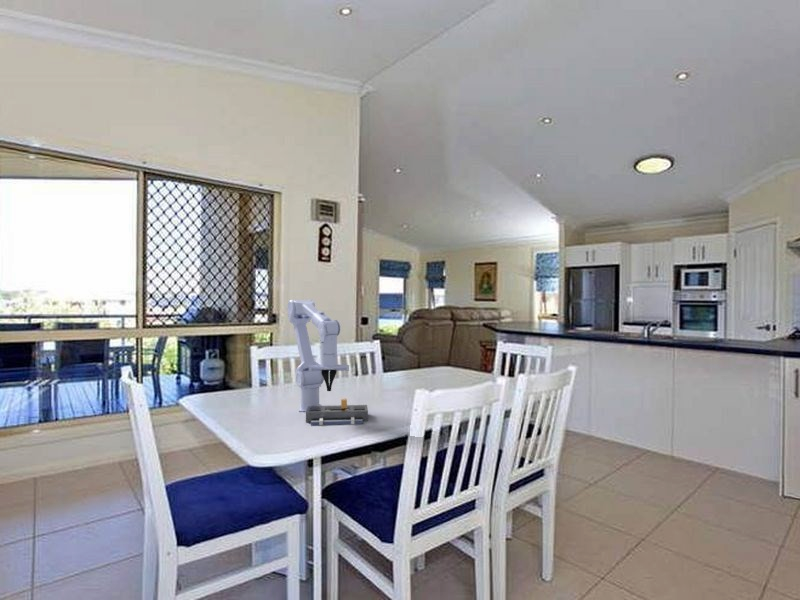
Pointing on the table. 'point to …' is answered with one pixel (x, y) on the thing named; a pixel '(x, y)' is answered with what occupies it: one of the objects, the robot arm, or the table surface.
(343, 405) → the lever
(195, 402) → the table surface
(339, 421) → the cords
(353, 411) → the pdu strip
